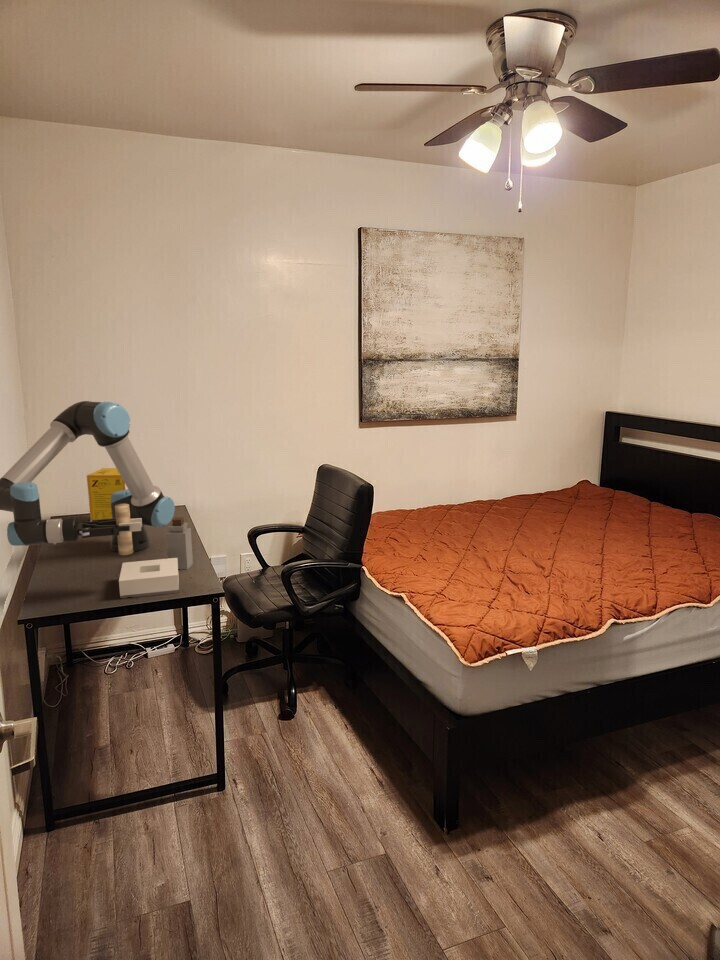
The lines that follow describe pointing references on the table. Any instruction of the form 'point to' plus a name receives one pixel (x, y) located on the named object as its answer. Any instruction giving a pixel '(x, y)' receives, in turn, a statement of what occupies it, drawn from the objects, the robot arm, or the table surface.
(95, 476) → the packaging box
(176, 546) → the perfume bottle
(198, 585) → the table surface
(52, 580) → the table surface
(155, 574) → the socket block
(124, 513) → the birch peg
